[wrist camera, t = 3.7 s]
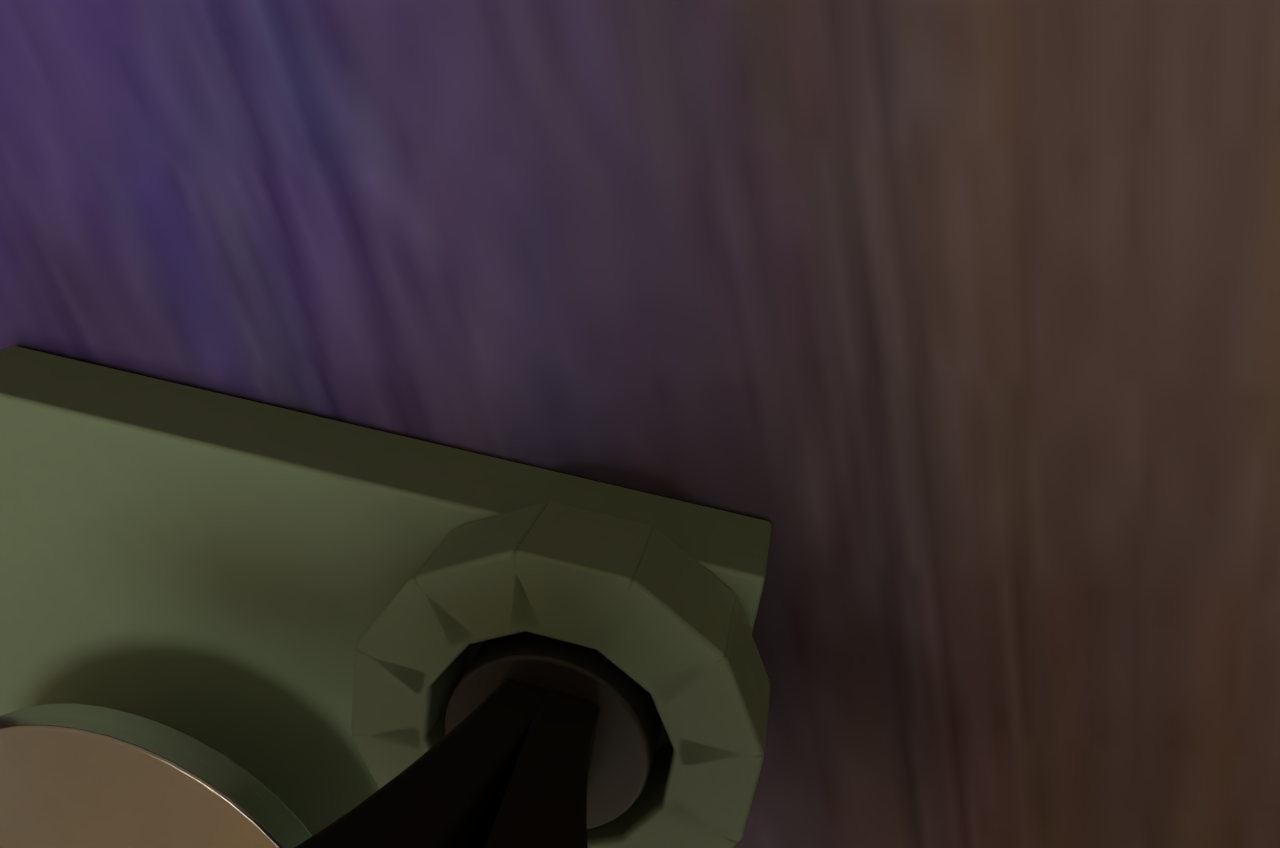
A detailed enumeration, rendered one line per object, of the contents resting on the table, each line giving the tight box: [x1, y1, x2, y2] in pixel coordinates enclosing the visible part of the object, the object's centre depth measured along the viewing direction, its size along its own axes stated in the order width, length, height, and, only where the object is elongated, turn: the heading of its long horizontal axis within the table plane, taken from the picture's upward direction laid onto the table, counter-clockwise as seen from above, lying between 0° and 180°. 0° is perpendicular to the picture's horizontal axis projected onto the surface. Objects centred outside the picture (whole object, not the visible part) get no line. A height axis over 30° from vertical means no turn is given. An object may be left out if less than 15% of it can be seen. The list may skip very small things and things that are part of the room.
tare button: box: [445, 631, 663, 829], centre depth 13 cm, size 3×3×2 cm
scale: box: [0, 346, 772, 848], centre depth 16 cm, size 14×12×4 cm
